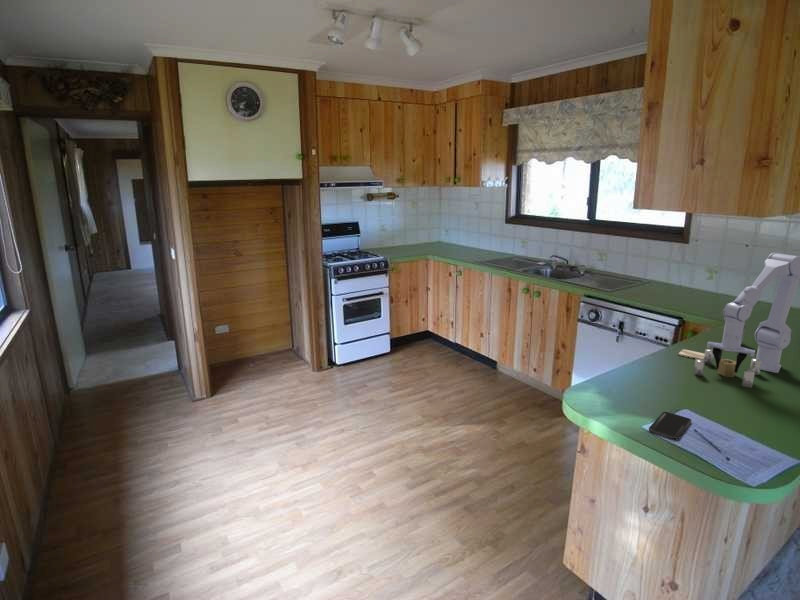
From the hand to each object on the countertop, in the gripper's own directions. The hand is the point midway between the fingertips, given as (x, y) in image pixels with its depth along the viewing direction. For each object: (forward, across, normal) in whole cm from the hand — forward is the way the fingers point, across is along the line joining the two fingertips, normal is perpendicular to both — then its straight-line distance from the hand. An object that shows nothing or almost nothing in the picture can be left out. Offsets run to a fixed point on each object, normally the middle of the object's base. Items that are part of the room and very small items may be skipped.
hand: (726, 369), depth 176 cm
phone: (+2, -4, -56) cm, 56 cm away
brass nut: (+2, 0, 0) cm, 2 cm away
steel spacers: (+2, 0, 0) cm, 2 cm away
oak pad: (+2, -14, +13) cm, 19 cm away
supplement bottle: (+2, -5, +42) cm, 42 cm away
